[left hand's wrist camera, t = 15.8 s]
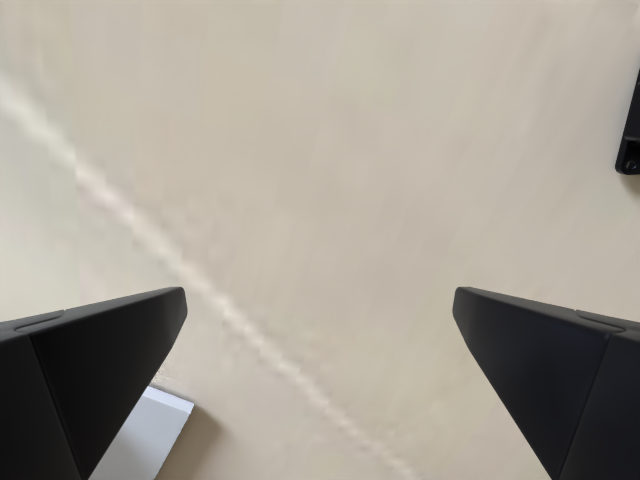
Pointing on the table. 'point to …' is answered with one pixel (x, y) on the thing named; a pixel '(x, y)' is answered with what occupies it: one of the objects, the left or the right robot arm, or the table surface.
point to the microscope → (144, 438)
